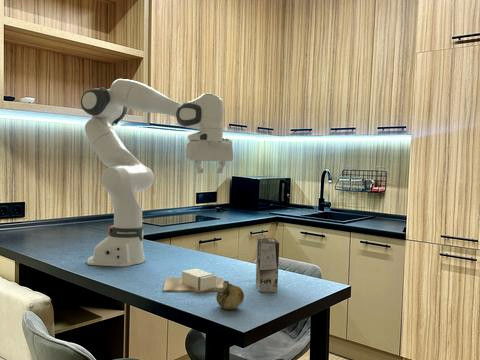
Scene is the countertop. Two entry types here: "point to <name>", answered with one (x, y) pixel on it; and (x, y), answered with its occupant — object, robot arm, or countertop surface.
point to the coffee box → (267, 264)
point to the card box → (199, 279)
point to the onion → (229, 296)
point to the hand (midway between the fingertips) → (210, 173)
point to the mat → (186, 286)
